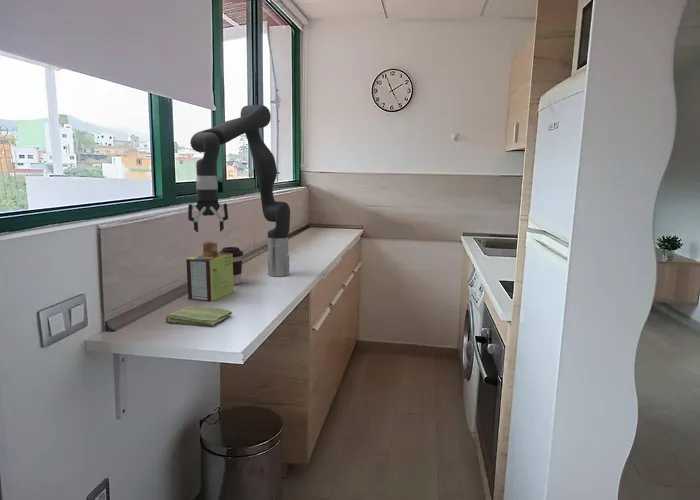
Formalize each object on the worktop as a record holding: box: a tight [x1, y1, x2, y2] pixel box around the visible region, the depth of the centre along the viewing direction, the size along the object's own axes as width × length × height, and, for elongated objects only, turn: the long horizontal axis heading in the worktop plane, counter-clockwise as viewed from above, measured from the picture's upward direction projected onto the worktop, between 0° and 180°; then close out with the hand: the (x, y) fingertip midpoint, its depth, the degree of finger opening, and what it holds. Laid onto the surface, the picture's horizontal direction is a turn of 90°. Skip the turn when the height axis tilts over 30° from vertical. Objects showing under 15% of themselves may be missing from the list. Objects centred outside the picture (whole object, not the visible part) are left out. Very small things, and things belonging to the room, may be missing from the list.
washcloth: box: [165, 305, 233, 327], centre depth 161 cm, size 13×18×3 cm
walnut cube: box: [202, 240, 218, 257], centre depth 188 cm, size 5×5×5 cm
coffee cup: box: [218, 246, 244, 286], centre depth 208 cm, size 10×10×15 cm
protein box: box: [185, 251, 235, 302], centre depth 189 cm, size 10×15×16 cm
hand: (209, 231), depth 186 cm, fingers open, 8 cm apart
